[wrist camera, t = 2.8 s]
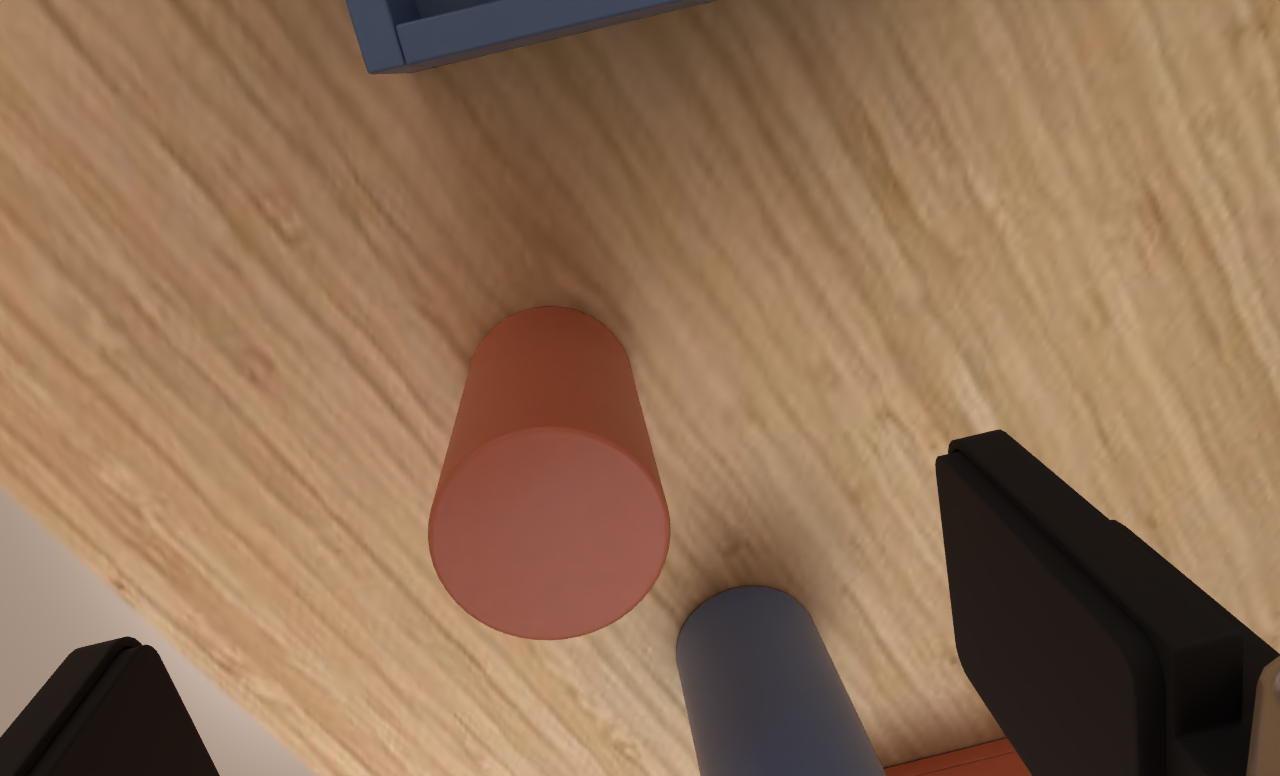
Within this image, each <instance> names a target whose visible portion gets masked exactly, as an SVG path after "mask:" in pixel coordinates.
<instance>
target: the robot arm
mask: <svg viewBox="0 0 1280 776" xmlns="http://www.w3.org/2000/svg"><path fill="white" fill-rule="evenodd" d="M935 466H936V478H937V486H938V495H939V503H940V512H941V521H942V529H943V538H944V547H945V555H946V564H947V573H948V581H949V590H950V599H951V607H952V616H953V625H954V633H955V642H956V648H957V652H958V656H959V659H960V662H961V665H962V667H963V669H964V672H965V673H966V675H967V677H968V679H969V680H970V682H971V683H972V685H973V686H974V688H975V689H976V691H977V692H978V694H979V695H980V697H981V699H982V700H983V702H984V703H985V705H986V706H987V708H988V709H989V711H990V712H991V714H992V715H993V717H994V718H995V720H996V721H997V723H998V724H999V726H1000V728H1001V729H1002V731H1003V732H1004V734H1005V735H1006V737H1007V738H1008V740H1009V741H1010V743H1011V744H1012V746H1013V747H1014V749H1015V750H1016V752H1017V753H1018V755H1019V756H1020V758H1021V760H1022V761H1023V763H1024V764H1025V766H1026V767H1027V769H1028V770H1029V772H1030V773H1031V775H1032V776H1280V654H1279V653H1278V652H1277V651H1275V650H1274V649H1273V648H1272V647H1271V646H1269V645H1268V644H1267V643H1266V642H1264V641H1263V640H1262V639H1261V638H1260V637H1258V636H1257V635H1256V634H1255V633H1254V632H1252V631H1251V630H1250V629H1249V628H1248V627H1246V626H1245V625H1244V624H1243V623H1242V622H1240V621H1239V620H1238V619H1237V618H1236V617H1234V616H1233V615H1232V614H1231V613H1230V612H1228V611H1227V610H1226V609H1225V608H1223V607H1222V606H1221V605H1220V604H1219V603H1217V602H1216V601H1215V600H1214V599H1213V598H1211V597H1210V596H1209V595H1208V594H1207V593H1205V592H1204V591H1203V590H1202V589H1201V588H1199V587H1198V586H1197V585H1196V584H1195V583H1193V582H1192V581H1191V580H1190V579H1189V578H1187V577H1186V576H1185V575H1184V574H1183V573H1181V572H1180V571H1179V570H1178V569H1176V568H1175V567H1174V566H1173V565H1172V564H1170V563H1169V562H1168V561H1167V560H1166V559H1164V558H1163V557H1162V556H1161V555H1160V554H1158V553H1157V552H1156V551H1155V550H1154V549H1152V548H1151V547H1150V546H1149V545H1148V544H1146V543H1145V542H1144V541H1143V540H1142V539H1140V538H1139V537H1138V536H1137V535H1136V534H1134V533H1133V532H1132V531H1131V530H1129V529H1128V528H1127V527H1126V526H1124V525H1122V524H1121V523H1119V522H1118V521H1116V520H1109V519H1108V518H1107V517H1106V516H1104V515H1103V514H1102V513H1101V512H1100V511H1098V510H1097V509H1096V508H1095V507H1094V506H1093V505H1091V504H1090V503H1089V502H1088V501H1087V500H1085V499H1084V498H1083V497H1082V496H1081V495H1079V494H1078V493H1077V492H1076V491H1075V490H1074V489H1072V488H1071V487H1070V486H1069V485H1068V484H1066V483H1065V482H1064V481H1063V480H1062V479H1060V478H1059V477H1058V476H1057V475H1056V474H1055V473H1053V472H1052V471H1051V470H1050V469H1049V468H1047V467H1046V466H1045V465H1044V464H1043V463H1041V462H1040V461H1039V460H1038V459H1037V458H1036V457H1034V456H1033V455H1032V454H1031V453H1030V452H1028V451H1027V450H1026V449H1025V448H1024V447H1022V446H1021V445H1020V444H1019V443H1018V442H1017V441H1015V440H1014V439H1013V438H1012V437H1011V436H1009V435H1008V434H1007V433H1006V432H1004V431H1002V430H1001V429H1000V430H994V431H990V432H986V433H982V434H978V435H973V436H969V437H965V438H961V439H956V440H952V441H951V443H950V444H949V449H948V454H947V455H942V456H938V457H937V459H936V464H935ZM0 776H220V775H219V774H218V772H217V769H216V767H215V765H214V763H213V761H212V759H211V757H210V755H209V753H208V752H207V749H206V747H205V745H204V744H203V742H202V739H201V738H200V735H199V734H198V732H197V729H196V727H195V726H194V723H193V721H192V719H191V717H190V715H189V714H188V711H187V710H186V707H185V705H184V704H183V702H182V700H181V697H180V696H179V694H178V692H177V689H176V688H175V686H174V684H173V682H172V680H171V678H170V676H169V674H168V672H167V670H166V668H165V666H164V664H163V662H162V660H161V658H160V656H159V654H158V653H157V651H156V650H155V649H154V648H153V647H152V646H149V645H142V644H141V643H140V642H139V641H137V640H136V639H135V638H131V637H123V638H119V639H115V640H111V641H107V642H102V643H98V644H94V645H89V646H85V647H81V648H78V649H75V650H74V651H73V652H72V653H70V654H69V655H68V657H67V658H66V659H65V660H64V662H63V663H62V664H61V665H60V666H59V667H58V669H57V670H56V671H55V672H54V674H53V675H52V676H51V677H50V678H49V679H48V681H47V682H46V683H45V684H44V686H43V687H42V688H41V689H40V690H39V692H38V693H37V694H36V695H35V696H34V698H33V699H32V700H31V701H30V702H29V704H28V705H27V706H26V707H25V709H24V710H23V711H22V712H21V713H20V714H19V716H18V717H17V718H16V719H15V721H14V722H13V723H12V724H11V725H10V727H9V728H8V729H7V730H6V731H5V733H4V734H3V735H2V736H1V737H0Z"/></svg>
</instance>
